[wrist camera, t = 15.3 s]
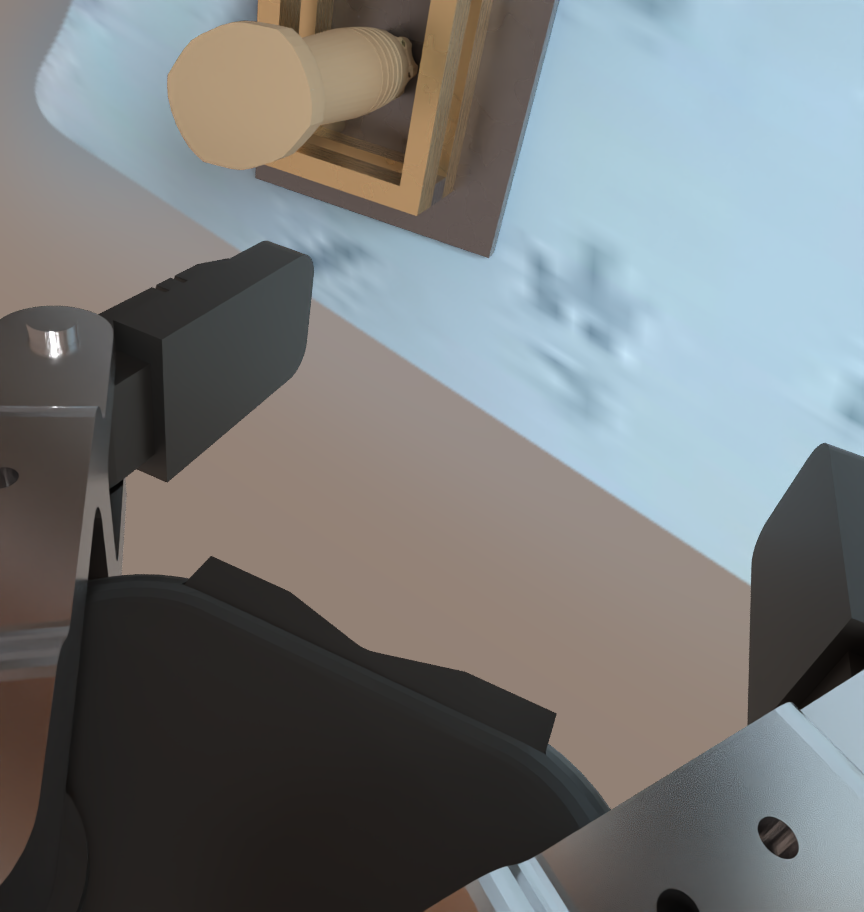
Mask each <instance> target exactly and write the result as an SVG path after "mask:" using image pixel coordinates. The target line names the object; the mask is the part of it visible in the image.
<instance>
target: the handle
mask: <svg viewBox="0 0 864 912" xmlns="http://www.w3.org/2000/svg"><path fill="white" fill-rule="evenodd" d="M417 71H418V65H417V64H416V63H415V61H414V59H413V56H412V43H411V42H410V41H409V39H408V38H406V37H396V36H393V35H392V34H391V33H389V32H388V31H386V30H383V29H378V28H371V27H346V28H336V29H332V30H328V31H324V32H321V33H317V34H314V35H310V36H306V37H303V38H301V36H300V35H299V34H298V33H296V32H295V31H294V30H293V29H292V28H288V27H284V26H279V25H274V24H268V23H263V22H255V21H239V22H232V23H228V24H225V25H221V26H219V27H217V28H214V29H212V30H210V31H208V32H205V33H203V34H201V35H199V36H198V37H196V38H194V39H193V40H191V42H190V43H189V44H188V45H187V46H186V47H185V48H184V50H183V51H182V53H181V54H180V56H179V57H178V59H177V61H176V62H175V64H174V65H173V67H172V69H171V70H170V72H169V74H168V78H167V89H168V99H169V103H170V107H171V111H172V114H173V116H174V119H175V122H176V124H177V127H178V129H179V131H180V133H181V135H182V137H183V138H184V140H185V141H186V143H187V145H188V146H189V148H190V149H191V150H192V151H193V152H194V153H195V154H196V155H197V156H198V157H199V158H200V159H201V160H202V161H203V162H206V163H210V164H214V165H218V166H222V167H226V168H230V169H238V170H245V169H250V168H254V167H258V166H261V165H264V164H267V163H270V162H273V161H276V160H279V159H282V158H285V157H287V156H290V155H292V154H294V153H295V152H296V151H297V150H298V149H299V148H300V147H301V146H302V145H303V144H304V143H305V142H306V141H307V140H308V139H309V138H310V137H311V136H312V134H313V133H314V132H315V131H316V129H317V128H318V127H319V125H324V124H329V123H334V122H339V121H344V120H349V119H354V118H357V117H360V116H363V115H365V114H368V113H370V112H373V111H375V110H377V109H379V108H381V107H383V106H385V105H386V104H388V103H389V102H391V101H392V100H395V99H397V98H398V97H400V96H401V95H402V94H403V93H404V90H405V86H406V85H407V83H408V81H409V80H410V79H411V78H413V77H414V76H416V75H417Z"/></svg>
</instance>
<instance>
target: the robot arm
mask: <svg viewBox="0 0 864 912" xmlns="http://www.w3.org/2000/svg"><path fill="white" fill-rule="evenodd" d="M313 276H314V266H313V262H312V259H311V258H310V257H309V256H308V255H305V254H302V253H300V252H297V251H294V250H291V249H289V248H286V247H283V246H280V245H277V244H275V243H272V242H269V241H263V242H260V243H258V244H257V245H255V246H253V247H251V248H249V249H247V250H245V251H243V252H241V253H239V254H238V255H236V256H234V257H232V258H230V259H222V260H217V261H212V262H207V263H201V264H197V265H195V266H193V267H191V268H189V269H187V270H185V271H183V272H181V273H179V274H177V275H176V276H175V278H174V279H172V278H169V279H167V280H165V281H163V282H162V283H159V284H157V286H156V288H152V287H151V288H150V289H148V290H146V291H144V292H142V293H140V294H138V295H136V296H134V297H132V298H130V299H128V300H126V301H124V302H122V303H120V304H118V305H116V306H114V307H112V308H110V309H108V310H106V311H104V312H102V313H100V314H96V313H93V312H91V311H88V310H84V309H80V308H75V307H68V306H39V307H33V308H27V309H23V310H19V311H16V312H13V313H10V314H8V315H6V316H4V317H3V318H1V319H0V912H864V457H863V456H860V455H857V454H854V453H852V452H849V451H846V450H843V449H840V448H838V447H835V446H832V445H829V444H827V443H823V444H820V445H819V446H818V447H817V448H816V449H815V450H814V451H813V452H812V453H811V455H810V456H809V458H808V459H807V461H806V462H805V464H804V465H803V467H802V468H801V470H800V471H799V473H798V474H797V476H796V477H795V479H794V480H793V482H792V484H791V485H790V487H789V488H788V490H787V491H786V493H785V494H784V496H783V497H782V499H781V500H780V502H779V503H778V505H777V506H776V508H775V509H774V511H773V512H772V514H771V516H770V517H769V519H768V520H767V522H766V523H765V525H764V527H763V529H762V531H761V533H760V535H759V537H758V540H757V543H756V545H755V549H754V552H753V557H752V567H751V608H750V609H751V610H750V648H749V650H750V651H749V688H748V726H747V727H745V728H743V729H742V730H740V731H738V732H737V733H735V734H734V735H732V736H730V737H729V738H727V739H725V740H724V741H722V742H721V743H719V744H717V745H716V746H714V747H713V748H711V749H709V750H708V751H706V752H705V753H703V754H701V755H699V756H698V757H696V758H695V759H693V760H691V761H690V762H688V763H687V764H685V765H683V766H682V767H680V768H679V769H677V770H675V771H673V772H672V773H670V774H669V775H667V776H665V777H664V778H662V779H660V780H659V781H657V782H656V783H654V784H652V785H651V786H649V787H648V788H646V789H644V790H643V791H641V792H639V793H638V794H636V795H634V796H633V797H631V798H630V799H628V800H626V801H625V802H623V803H621V804H620V805H618V806H617V807H615V808H614V809H612V810H611V809H610V808H609V806H608V805H607V803H606V802H605V801H604V799H603V798H602V796H601V795H600V794H599V792H598V791H597V790H596V789H595V788H594V787H593V785H592V784H591V783H590V782H589V781H588V780H587V778H586V777H585V776H584V775H583V774H582V773H581V772H580V771H579V770H578V769H577V768H576V767H575V766H574V765H573V764H572V763H571V762H570V761H569V760H567V759H566V758H565V757H564V756H563V755H562V754H561V753H560V752H558V751H557V750H556V749H554V748H553V747H552V746H551V745H549V744H548V742H549V738H550V735H551V731H552V728H553V724H554V721H555V717H556V713H554V712H552V711H550V710H548V709H545V708H543V707H541V706H539V705H536V704H535V703H532V702H530V701H528V700H526V699H524V698H521V697H519V696H517V695H515V694H513V693H510V692H508V691H506V690H504V689H502V688H499V687H497V686H495V685H493V684H491V683H489V682H486V681H484V680H482V679H480V678H478V677H475V676H473V675H471V674H469V673H467V672H463V671H459V670H454V669H449V668H445V667H440V666H436V665H431V664H427V663H422V662H417V661H413V660H408V659H404V658H399V657H394V656H390V655H385V654H381V653H376V652H372V651H369V650H367V649H364V648H362V647H360V646H359V645H358V644H356V643H355V642H354V641H352V640H351V639H350V638H348V637H347V636H346V635H345V634H343V633H342V632H341V631H340V630H338V629H337V628H336V627H334V626H333V625H332V624H330V623H329V622H328V621H327V620H325V619H324V618H323V617H321V616H320V615H319V614H318V613H316V612H315V611H313V609H311V608H310V607H309V606H307V605H306V604H305V603H304V602H302V601H301V600H300V599H298V598H297V597H296V596H295V595H293V594H292V593H291V592H289V591H287V590H285V589H283V588H280V587H278V586H276V585H274V584H271V583H269V582H267V581H265V580H263V579H261V578H258V577H256V576H254V575H252V574H250V573H248V572H245V571H243V570H241V569H239V568H237V567H234V566H232V565H230V564H228V563H225V562H223V561H221V560H219V559H217V558H215V557H212V556H211V557H210V558H209V559H208V560H207V561H206V562H205V563H204V564H203V565H202V566H201V567H200V568H199V569H198V570H197V571H196V572H195V573H194V574H193V575H192V576H191V577H190V578H189V579H188V578H183V577H175V576H165V575H148V574H146V575H145V574H135V575H122V560H123V544H124V528H125V527H124V526H125V511H126V494H127V493H126V482H125V477H127V476H128V475H129V474H130V473H132V472H133V471H134V470H136V469H137V470H140V471H142V472H144V473H147V474H149V475H151V476H154V477H156V478H158V479H160V480H162V481H165V482H168V481H169V480H171V479H172V478H173V477H174V476H175V475H177V474H178V473H179V472H180V471H181V470H183V469H184V468H185V467H186V466H187V465H189V464H190V463H191V462H192V461H193V460H194V459H196V458H197V457H198V456H199V455H200V454H202V453H203V452H204V451H205V450H206V449H207V448H209V447H210V446H211V445H212V444H213V443H215V442H216V441H217V440H218V439H219V438H221V437H222V435H224V434H225V433H226V432H228V431H229V430H230V429H231V428H232V427H234V426H235V425H236V424H237V423H238V422H239V421H241V420H242V419H243V418H244V417H245V416H246V415H248V414H249V413H250V412H251V411H252V410H254V409H255V408H256V407H257V406H258V405H260V404H261V403H262V402H263V401H264V400H265V399H266V398H268V397H269V396H270V395H271V394H273V393H274V392H275V391H276V390H277V389H278V388H280V387H281V386H282V385H283V384H284V383H286V382H287V381H288V380H289V379H290V378H291V377H292V376H293V375H294V374H295V372H296V370H297V369H298V367H299V365H300V363H301V361H302V359H303V356H304V353H305V349H306V343H307V335H308V325H309V315H310V306H311V296H312V286H313Z"/></svg>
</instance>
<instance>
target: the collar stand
mask: <svg viewBox="0 0 864 912" xmlns="http://www.w3.org/2000/svg"><path fill="white" fill-rule="evenodd" d="M558 4H559V0H258V14H257V22H263V23H268V24H274V25H279V26H284V27H288V28H292V29H293V30H294V31H295V32H296V33H298V34H299V35H300V36H301V38H303V37H306V36H310V35H314V34H317V33H321V32H324V31H328V30H332V29H336V28H346V27H371V28H378V29H383V30H386V31H388V32H389V33H391V34H392V35H393V36H396V37H406V38H408V39H409V41H410V42H411V43H412V56H413V59H414V61H415V63H416V64H417V65H418V71H417V75H416V76H414V77H413V78H411V79H410V80H409V81H408V83H407V85H406V86H405V90H404V93H403V94H402V95H401V96H400V97H398V98H397V99H395V100H392V101H391V102H389V103H388V104H386V105H385V106H383V107H381V108H379V109H377V110H375V111H373V112H370V113H368V114H365V115H363V116H360V117H357V118H354V119H349V120H344V121H339V122H334V123H329V124H324V125H319V127H318V128H317V129H316V131H315V132H314V133H313V134H312V136H311V137H310V138H309V139H308V140H307V141H306V142H305V143H304V144H303V145H302V146H301V147H300V148H299V149H298V150H297V151H296V152H295V153H294V154H292V155H290V156H287V157H285V158H282V159H279V160H276V161H273V162H270V163H267V164H264V165H261V166H258V167H256V177H255V178H257V179H260V180H263V181H266V182H269V183H272V184H275V185H278V186H281V187H284V188H286V189H289V190H292V191H295V192H298V193H301V194H304V195H307V196H310V197H313V198H316V199H319V200H321V201H324V202H327V203H330V204H333V205H336V206H339V207H342V208H345V209H348V210H351V211H353V212H356V213H359V214H362V215H365V216H368V217H371V218H374V219H377V220H380V221H383V222H385V223H388V224H391V225H394V226H397V227H400V228H403V229H406V230H409V231H412V232H415V233H418V234H420V235H423V236H426V237H429V238H432V239H435V240H438V241H441V242H444V243H447V244H450V245H452V246H455V247H458V248H461V249H464V250H467V251H470V252H473V253H476V254H479V255H482V256H484V257H487V258H489V257H490V256H491V255H492V254H493V253H494V250H495V246H496V242H497V238H498V235H499V231H500V227H501V223H502V219H503V215H504V211H505V208H506V204H507V200H508V196H509V192H510V188H511V185H512V181H513V177H514V173H515V169H516V165H517V161H518V158H519V154H520V150H521V146H522V142H523V138H524V134H525V131H526V127H527V123H528V119H529V115H530V111H531V108H532V104H533V100H534V96H535V92H536V88H537V84H538V81H539V77H540V73H541V69H542V65H543V61H544V57H545V54H546V50H547V46H548V42H549V38H550V34H551V30H552V27H553V23H554V19H555V15H556V11H557V7H558Z"/></svg>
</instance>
